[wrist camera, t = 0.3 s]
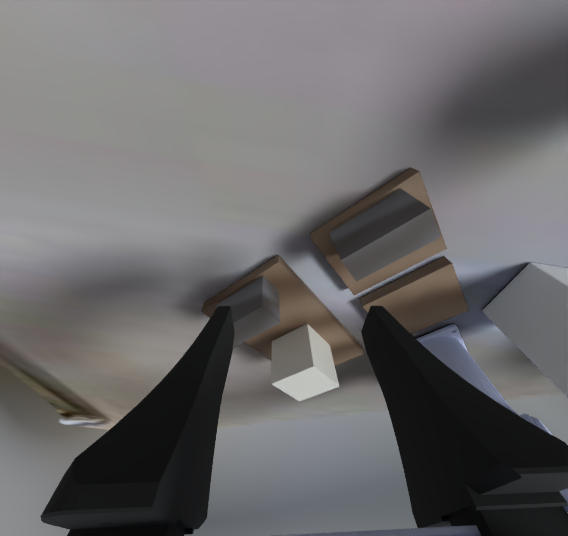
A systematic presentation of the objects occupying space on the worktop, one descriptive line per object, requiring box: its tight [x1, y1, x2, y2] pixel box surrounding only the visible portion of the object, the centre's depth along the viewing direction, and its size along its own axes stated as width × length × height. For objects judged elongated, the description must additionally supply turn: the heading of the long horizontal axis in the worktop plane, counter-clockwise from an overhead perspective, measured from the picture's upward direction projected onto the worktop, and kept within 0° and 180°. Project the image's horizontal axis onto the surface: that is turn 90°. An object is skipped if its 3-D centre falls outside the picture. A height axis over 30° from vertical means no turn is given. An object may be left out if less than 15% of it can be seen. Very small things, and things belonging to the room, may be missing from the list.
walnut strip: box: [201, 255, 364, 366], centre depth 25 cm, size 18×10×5 cm, turn 36°
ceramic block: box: [271, 324, 339, 401], centre depth 25 cm, size 5×5×5 cm
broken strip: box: [310, 168, 469, 334], centre depth 21 cm, size 18×9×5 cm, turn 37°
